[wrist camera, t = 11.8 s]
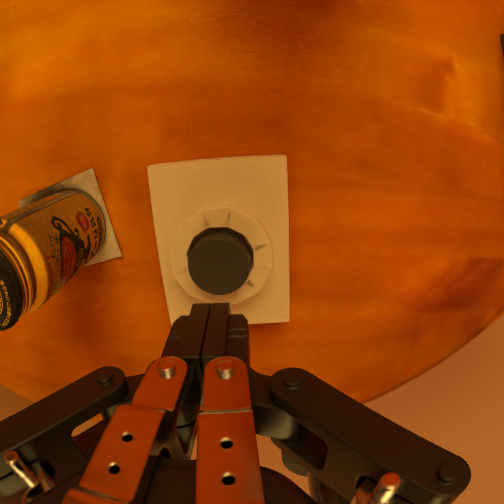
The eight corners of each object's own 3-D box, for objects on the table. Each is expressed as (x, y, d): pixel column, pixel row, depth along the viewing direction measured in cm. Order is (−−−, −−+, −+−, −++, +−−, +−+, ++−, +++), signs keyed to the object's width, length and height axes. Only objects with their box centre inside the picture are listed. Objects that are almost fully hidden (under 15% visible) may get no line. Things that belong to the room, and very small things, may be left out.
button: (250, 281, 21) (250, 294, 19) (195, 284, 21) (192, 296, 20) (247, 228, 20) (247, 236, 18) (189, 231, 20) (184, 240, 18)
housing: (286, 307, 26) (292, 335, 22) (176, 312, 26) (166, 340, 22) (283, 154, 22) (290, 157, 18) (156, 163, 22) (138, 169, 18)
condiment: (123, 255, 24) (46, 342, 13) (47, 276, 25) (-33, 351, 14) (94, 167, 22) (-13, 201, 10) (19, 200, 22) (-80, 246, 11)
